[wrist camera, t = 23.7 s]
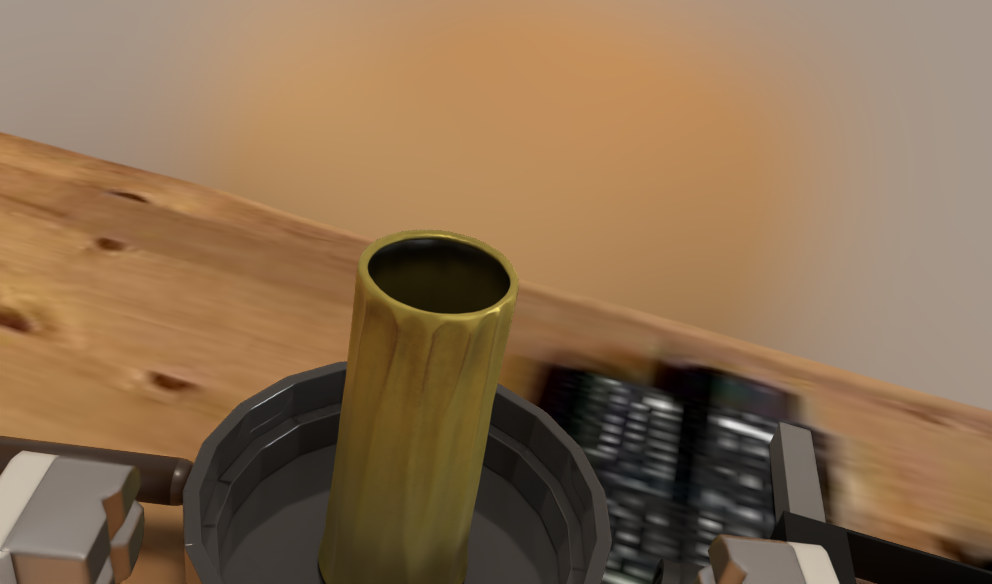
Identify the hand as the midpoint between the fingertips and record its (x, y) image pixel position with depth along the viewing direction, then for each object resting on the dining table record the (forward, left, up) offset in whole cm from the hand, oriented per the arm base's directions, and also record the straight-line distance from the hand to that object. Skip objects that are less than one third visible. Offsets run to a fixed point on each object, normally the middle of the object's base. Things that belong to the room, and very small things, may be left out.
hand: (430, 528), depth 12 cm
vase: (0, -15, -20) cm, 25 cm away
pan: (0, -15, -20) cm, 25 cm away
